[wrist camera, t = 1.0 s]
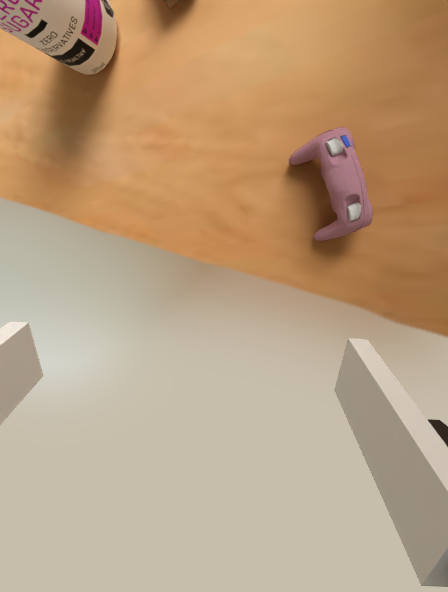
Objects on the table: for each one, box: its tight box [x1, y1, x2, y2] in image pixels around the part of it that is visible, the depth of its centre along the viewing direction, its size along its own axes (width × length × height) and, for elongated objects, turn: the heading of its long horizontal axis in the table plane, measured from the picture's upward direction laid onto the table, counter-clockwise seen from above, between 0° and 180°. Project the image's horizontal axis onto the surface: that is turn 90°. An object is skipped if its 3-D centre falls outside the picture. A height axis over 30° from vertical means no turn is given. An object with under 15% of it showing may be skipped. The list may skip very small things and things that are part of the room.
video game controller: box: [289, 127, 373, 241], centre depth 28 cm, size 10×5×7 cm, turn 21°
